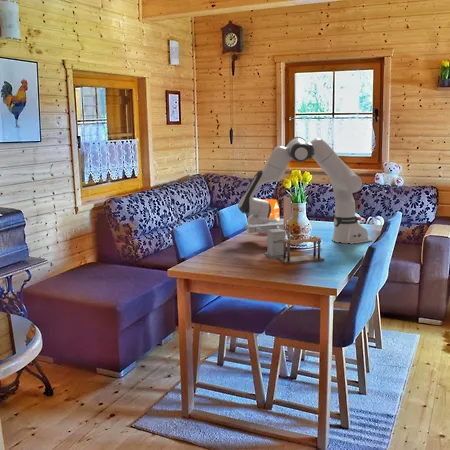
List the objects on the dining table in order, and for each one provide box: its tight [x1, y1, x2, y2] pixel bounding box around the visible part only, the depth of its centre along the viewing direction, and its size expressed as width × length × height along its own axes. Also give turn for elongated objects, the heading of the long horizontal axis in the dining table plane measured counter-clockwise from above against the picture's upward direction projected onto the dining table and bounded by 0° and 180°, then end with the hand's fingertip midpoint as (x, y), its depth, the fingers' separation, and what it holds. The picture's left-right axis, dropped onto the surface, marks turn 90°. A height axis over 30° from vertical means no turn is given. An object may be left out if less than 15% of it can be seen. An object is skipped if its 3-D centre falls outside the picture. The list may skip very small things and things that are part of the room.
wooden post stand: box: [283, 235, 322, 261], centre depth 272 cm, size 17×6×10 cm, turn 105°
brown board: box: [279, 254, 325, 265], centre depth 273 cm, size 20×8×1 cm, turn 105°
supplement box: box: [266, 229, 286, 256], centre depth 282 cm, size 7×7×13 cm
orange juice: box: [263, 198, 280, 221], centre depth 342 cm, size 8×9×20 cm
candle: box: [283, 195, 291, 227], centre depth 357 cm, size 7×14×20 cm, turn 78°
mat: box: [263, 252, 287, 259], centre depth 284 cm, size 10×10×1 cm
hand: (269, 230), depth 293 cm, fingers open, 8 cm apart
